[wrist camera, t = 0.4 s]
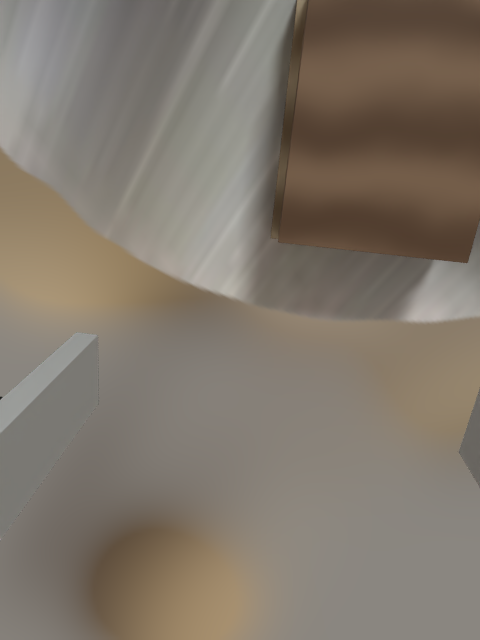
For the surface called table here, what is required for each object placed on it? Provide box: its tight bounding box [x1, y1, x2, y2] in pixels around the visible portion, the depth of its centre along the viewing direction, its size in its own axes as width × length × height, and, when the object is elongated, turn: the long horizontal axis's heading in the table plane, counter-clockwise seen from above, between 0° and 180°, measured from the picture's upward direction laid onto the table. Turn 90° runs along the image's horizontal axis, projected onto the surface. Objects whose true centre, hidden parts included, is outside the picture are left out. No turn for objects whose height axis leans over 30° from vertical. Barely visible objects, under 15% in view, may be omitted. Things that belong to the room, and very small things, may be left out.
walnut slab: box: [278, 0, 480, 263], centre depth 32 cm, size 17×14×4 cm
